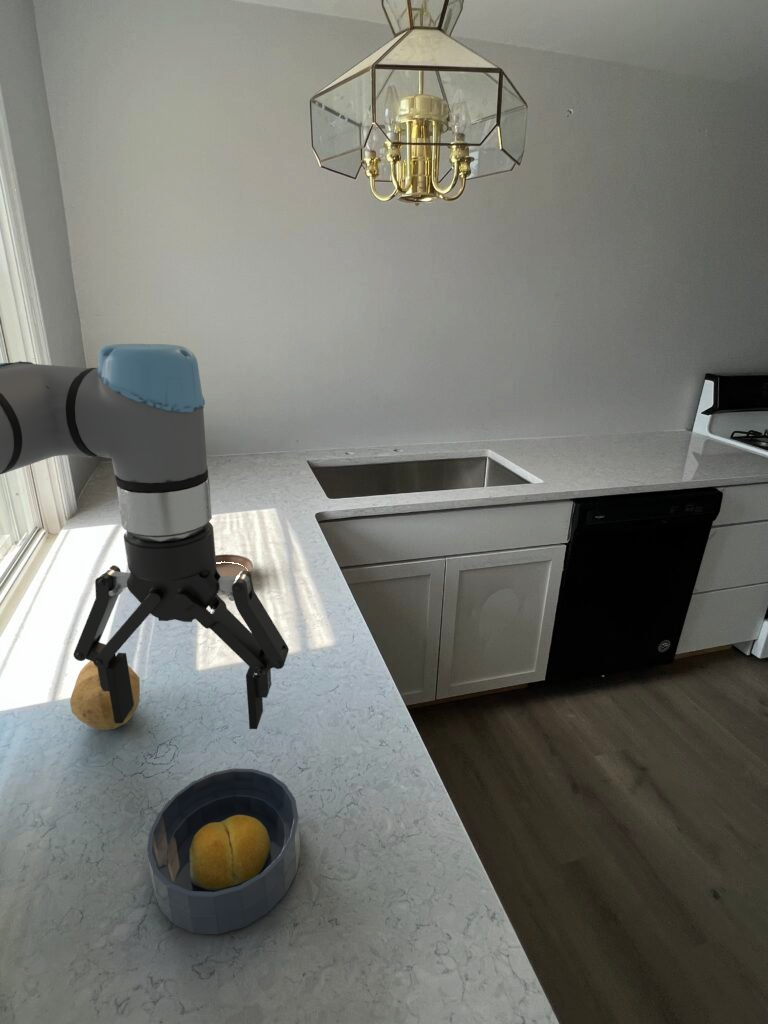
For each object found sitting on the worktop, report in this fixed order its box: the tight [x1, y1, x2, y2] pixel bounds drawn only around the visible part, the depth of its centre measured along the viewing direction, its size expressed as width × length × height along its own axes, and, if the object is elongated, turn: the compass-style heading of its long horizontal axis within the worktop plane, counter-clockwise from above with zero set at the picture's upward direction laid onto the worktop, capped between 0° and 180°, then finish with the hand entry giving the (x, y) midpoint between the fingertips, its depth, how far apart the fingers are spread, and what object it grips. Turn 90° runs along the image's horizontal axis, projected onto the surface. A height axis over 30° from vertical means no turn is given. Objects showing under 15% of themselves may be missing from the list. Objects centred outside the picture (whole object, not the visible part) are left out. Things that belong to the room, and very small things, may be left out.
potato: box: [69, 660, 141, 732], centre depth 84 cm, size 10×14×8 cm
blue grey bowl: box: [146, 767, 301, 935], centre depth 63 cm, size 16×16×6 cm
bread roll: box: [189, 815, 270, 891], centre depth 63 cm, size 8×9×4 cm
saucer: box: [215, 553, 254, 577], centre depth 129 cm, size 15×15×3 cm
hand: (190, 717), depth 57 cm, fingers open, 13 cm apart
